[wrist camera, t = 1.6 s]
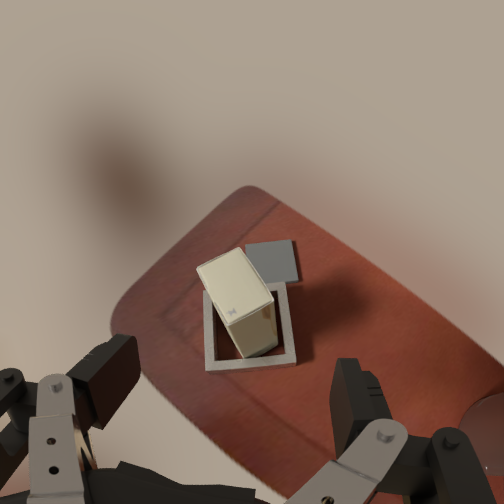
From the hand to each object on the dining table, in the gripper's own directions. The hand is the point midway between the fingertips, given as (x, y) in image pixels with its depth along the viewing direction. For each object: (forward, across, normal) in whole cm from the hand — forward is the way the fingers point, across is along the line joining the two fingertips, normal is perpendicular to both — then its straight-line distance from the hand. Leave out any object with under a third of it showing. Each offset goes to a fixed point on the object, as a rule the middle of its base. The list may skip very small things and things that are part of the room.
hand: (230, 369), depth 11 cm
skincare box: (+22, +2, +10) cm, 24 cm away
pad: (+28, 0, +3) cm, 29 cm away
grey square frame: (+22, +2, +10) cm, 24 cm away
